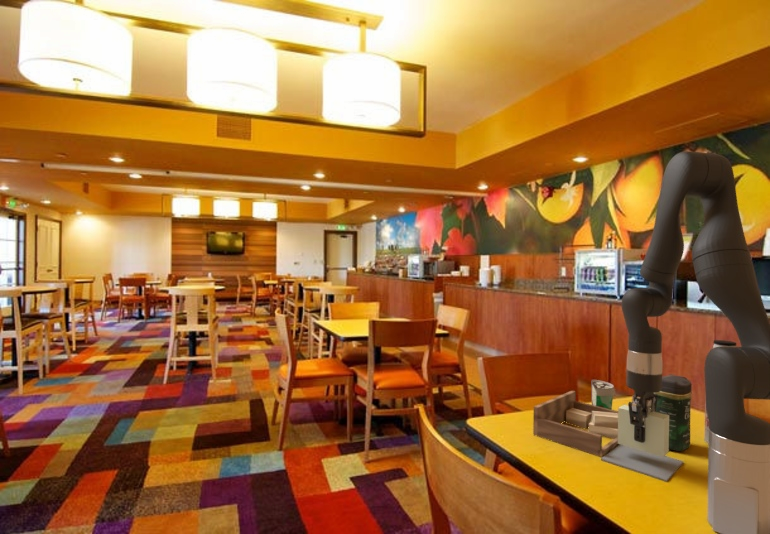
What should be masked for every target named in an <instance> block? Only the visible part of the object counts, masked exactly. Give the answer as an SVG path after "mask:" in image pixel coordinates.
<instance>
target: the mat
mask: <svg viewBox="0 0 770 534" xmlns="http://www.w3.org/2000/svg"><path fill="white" fill-rule="evenodd" d="M600 461H602V462H606V463H608V464H612V465H614V466H616V467H617V466H618V467H620V468H624V469H627V470H630V471H633V472H636V473H638V474H642V475H645V476H649V477H651V478H654V479H657V480H660V481H664V482H666V483H667V482H668V481H669V480H670V479H671V477H672V476H673V475H674V474H675V473H676V472H677V471H678V470H679V468H681V466H683V464H684V460H680V459H679V458H678V459H677V458H674V457H671V456H667V455H665V456H664V457H661V456H657V455H654V454H651V453H647V452H644V451H641V450H637V449H634V448H631V447H627V446H624V445H621V444H620V445H618V446H617V447H616V448H614V449H613V450H611V451H610V452H609V453H607V454H606V455H605V456H603V457H600Z"/></svg>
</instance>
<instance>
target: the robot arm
mask: <svg viewBox="0 0 770 534" xmlns="http://www.w3.org/2000/svg"><path fill="white" fill-rule="evenodd" d="M733 169H734V168H733V166H732V164H731V162H730V161H729V159H728V158H727V157H725V156H723V155H722V154H719V153H718V154H717V153H710V152H700V151H692V150H691V151H689V150H688V151H687V150H685V151H679V152H678V153H676V154H674V156H673V157H672V158H671V159H670V160H669V162H668V163H667V164H666V168H665V170H664V173H663V176H662V180H661V181H662V182H661V187H660V191H659V196H658V201H657V202H658V203H657V207H656V212H655V213H656V214H655V219H654V225H653V230H652V234H651V238H650V242H649V245H648V248H647V250H646V253H645V255H644V257H643V262H642V264H641V266H640V271H639V274H640V276H641V278H643V279H644V280H646V281H648V282H649V284H648V287H647V288H646V287H644V288H643V287H641V288H638V287H637V288H636V287H634V288H630V289H628V290H627V291H625V293H624V294H623V296H622V299H621V312H622V315H623V317H624V322H625V325H626V328H627V333H628V339H627V340H628V345H627V348H628V349H627V350H628V351H627V355H626V378H625V379H626V380H625V381H626V387H628V388H629V389H632V390H633V392H634V393H633V395H632V397H631V401H629V402H628V404H627V405H628V406H629V415H630V424H633V425H634V440H635V441H638V442H641V443H643V442H645V426H646V418H648V415H649V411H651V412H656V407H657V399H658V394H654V393H655V392H660V391H661V390H662V377H663V356H662V348H663V347H662V346H663V345H662V342H663V340H662V339H663V338H662V337H663V336H662V335H663V333H662V332H661V330H660V329H659V328H657V327H653V326H650V323H649V320H648V318H657V317H661V316H663V315H665V314H667V312H668V311H669V309H670V308H671V307H672V303H673V294H674V280H675V279H674V278H675V276H676V273H677V271H678V268H679V266H680V263H681V260H682V258H683V255H684V251H685V250H684V249H685V242H684V236H683V232H682V231H683V230H682V227H681V218H680V216H681V215H680V214H681V208H682V206H683V203H684V201H685V198H686V196H690V197H691V196H692V197H697V198H699V199H700V201H701V204H702V209H703V215H704V220H703V221H704V222H703V225H702V227H701V229H700V231H699V233H698V235H697V237H696V239H695V242H694V243H693V246H692V251H691V261H692V264H693V269H694V273H695V278H696V282H697V284H698V286H699V288H700V289H701V291H702V292H703V294H705V296H706V297H707V298H708V299H709V300H710V301H711V302H712V303H713V304H714V305H715V306H716V307H717V308H718V309H719V310H720V311H721V312H722V314H723V315H724V316H725V317H726V318H727V319H728V320H729V321H730V323H731V325H732V326H733V328H734V330H735V332H736V334H737V337H738V341H739V344H740V346H735V347H715V348H713V347H712V348H711V349H710V350H709V351H708V353H707V355H706V357H705V361H704V389H705V394H706V411H707V415H708V419H709V444H708V450H707V451H708V461H707V462H708V465H707V467H708V468H707V469H708V470H707V522H708V524H709V525H711V528H712V531H713V532H716V533H719V534H770V422H769V421H767V420H765V419H763V418H760V417H757V415H756V416H754V415H752V414H749V413H747V412H746V409H745V401H744V399H747V400H770V320H769V316H768V314H767V311H766V308H765V305H764V302H763V298H762V294H761V291H760V287H759V284H758V281H757V277H756V276H757V275H756V271H755V267H754V263H753V260H752V256H751V252H750V249H749V246H748V243H747V240H746V236H745V232H744V229H743V228H744V227H743V223H742V219H741V216H740V215H741V214H740V210H739V204H738V197H737V189H736V188H737V187H736V181H735V180H736V179H735V174H734V170H733ZM705 394H704V395H705ZM642 412H644V413H645V414H642ZM637 418H638V419H639V421H638V420H637Z"/></svg>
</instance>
